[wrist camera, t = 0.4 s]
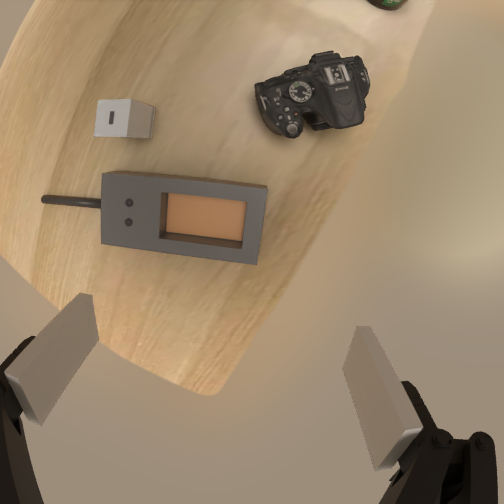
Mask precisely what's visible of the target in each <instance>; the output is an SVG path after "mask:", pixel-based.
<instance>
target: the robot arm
mask: <svg viewBox="0 0 504 504" xmlns="http://www.w3.org/2000/svg"><path fill="white" fill-rule="evenodd" d="M98 340H99V336H98V330H97V324H96V318H95V312H94V305H93V298H92V295H89V294H84V293H79V294H78V295H77V296H76V297H75V298H74V299H73V300H72V301H71V302H70V303H69V304H68V305H67V306H66V307H65V308H64V309H63V310H62V311H61V312H60V313H59V314H58V315H57V316H56V317H55V318H54V319H53V320H52V321H51V322H50V323H49V324H48V325H47V326H46V327H45V328H44V329H43V330H42V331H41V332H40V333H39V334H38V335H37V336H36V337H35V336H31V337H29V338H27V339H25V340H24V341H23V342H22V343H21V344H20V345H19V346H18V347H17V349H15V350H14V351H13V353H12V354H10V355H9V356H8V357H7V359H6V360H5V361H4V362H3V363H2V364H1V365H0V504H44V502H43V500H42V497H41V494H40V491H39V488H38V485H37V481H36V478H35V475H34V471H33V468H32V464H31V461H30V456H29V452H28V448H27V444H26V439H25V435H24V429H23V424H22V420H21V418H20V415H21V413H22V411H23V412H24V414H25V415H26V417H27V419H28V420H29V421H31V422H33V423H36V424H38V425H40V426H42V425H43V423H44V421H45V420H46V418H47V416H48V415H49V413H50V411H51V410H52V408H53V407H54V405H55V403H56V402H57V400H58V399H59V397H60V396H61V395H62V393H63V391H64V390H65V388H66V387H67V385H68V384H69V382H70V381H71V379H72V378H73V376H74V375H75V373H76V372H77V370H78V369H79V367H80V366H81V364H82V363H83V362H84V360H85V359H86V357H87V356H88V354H89V353H90V352H91V350H92V349H93V347H94V346H95V345H96V343H97V342H98ZM342 369H343V372H344V375H345V378H346V381H347V384H348V387H349V390H350V393H351V396H352V399H353V403H354V406H355V409H356V412H357V415H358V418H359V421H360V425H361V428H362V431H363V434H364V437H365V441H366V444H367V447H368V451H369V454H370V457H371V461H372V464H373V467H374V471H379V470H386V469H391V468H392V467H393V466H394V465H395V463H396V462H397V461H398V462H399V465H400V469H399V470H398V471H397V472H396V473H395V474H394V475H393V476H392V478H391V479H390V480H389V481H392V482H391V484H390V485H389V487H388V489H387V491H386V492H385V494H384V496H383V498H382V499H381V501H380V502H379V504H498V485H497V484H498V483H497V466H496V455H495V445H494V441H493V439H492V438H491V437H490V436H489V435H488V434H486V433H484V432H475V433H473V434H472V436H471V437H470V438H469V439H468V440H463V439H453V437H452V436H451V434H450V433H449V432H447V431H445V430H443V429H438V428H437V427H436V424H435V423H434V421H433V419H432V417H431V415H430V413H429V411H428V409H427V407H426V405H424V402H423V400H422V398H420V397H421V396H420V394H419V393H418V391H417V389H416V388H415V387H414V386H413V385H412V384H411V383H410V382H409V381H400V380H399V378H398V376H397V374H396V372H395V370H394V368H393V366H392V364H391V363H390V361H389V359H388V357H387V355H386V353H385V351H384V350H383V348H382V346H381V345H380V342H379V341H378V339H377V337H376V335H375V333H374V332H373V330H372V328H371V327H370V326H357V327H356V330H355V333H354V336H353V339H352V342H351V345H350V348H349V351H348V354H347V357H346V360H345V362H344V365H343V368H342Z"/></svg>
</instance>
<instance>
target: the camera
mask: <svg viewBox="0 0 504 504" xmlns="http://www.w3.org/2000/svg"><path fill="white" fill-rule="evenodd" d="M333 52H334V51H327V52H323V53H317V54H314V55H313V56H312V57H311V59H310V61H309V64H308V65H305V66H300V67H296V68H293V69H289V70H286V71H285V72H284V74H282V75H281V76H278V77H273V78H270V79H268V80H266V81H265V82H260V83H256V84H255V85H254V86H255V97H256V101H257V104H258V107H259V111H260V113H261V115H262V118H263V120H264V122H265V123H266V125H267V126H268V127H269V128H270V129H271V130H272V131H273V132H274V133H276V134H278V135H284V136H285V137H287V138H293V139H294V138H296V137H298V136H299V135H300V134H301V133H302V131H303V118H305V120H306V121H307V122H308V124H311V127H312V129H313V130H314V131H318V130H324V129H328V128H335V129H343V128H349V127H353V126H356V125H359V124H362V123H363V121H364V111H365V108H366V104H365V100H364V99H365V97H366V96H367V94H368V93H369V88H370V80H369V76H368V73H367V69H366V67H365V66H364V64H363V61H362V59H361V58H360V57H359V56H355V57H353V56H352V57H346V58H341V57H340V55H339V54H338V53H334V54H333ZM302 117H303V118H302Z"/></svg>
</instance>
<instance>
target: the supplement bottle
mask: <svg viewBox="0 0 504 504" xmlns="http://www.w3.org/2000/svg"><path fill="white" fill-rule="evenodd" d="M368 1H369V2H371V3H372V4H374V5H375V6H377V7H380V8H383V9H387V10H394V9H397V8H399V7H401V6H402V5H403V4H404V3H406V2H407V1H408V0H368Z"/></svg>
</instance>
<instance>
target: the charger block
mask: <svg viewBox="0 0 504 504" xmlns="http://www.w3.org/2000/svg"><path fill="white" fill-rule="evenodd" d="M155 109H156V108H155V107H154V106H150V105H147V104H144V103H142V102H139V101H136V100H133V99H112V100H98V105H97V113H96V121H95V130H94V137H120V138H150V139H151V138H152V133H153V125H154V117H155Z"/></svg>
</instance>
